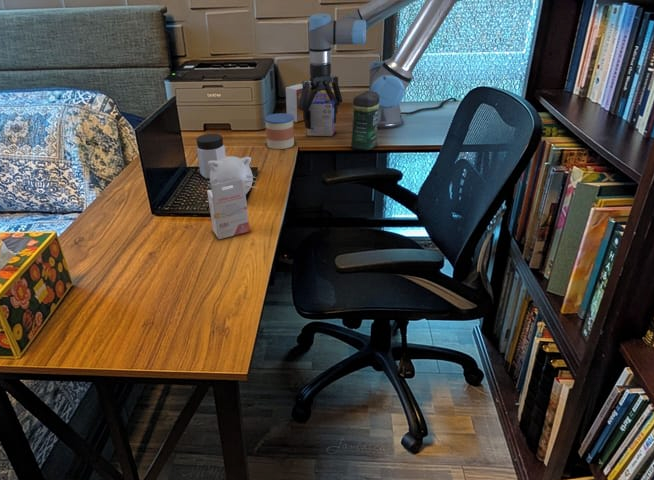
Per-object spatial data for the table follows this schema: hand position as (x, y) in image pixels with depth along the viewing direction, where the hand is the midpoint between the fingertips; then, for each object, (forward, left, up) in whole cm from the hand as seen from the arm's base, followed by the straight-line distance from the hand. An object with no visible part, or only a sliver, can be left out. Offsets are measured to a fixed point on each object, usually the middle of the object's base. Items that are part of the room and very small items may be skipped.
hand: (320, 125), depth 188 cm
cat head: (+51, +33, -4) cm, 61 cm away
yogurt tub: (+18, +1, -3) cm, 18 cm away
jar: (+49, +13, -4) cm, 51 cm away
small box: (-3, -22, -4) cm, 22 cm away
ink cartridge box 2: (0, 0, -4) cm, 4 cm away
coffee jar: (-5, +21, -4) cm, 22 cm away
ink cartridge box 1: (+60, +52, -4) cm, 79 cm away
